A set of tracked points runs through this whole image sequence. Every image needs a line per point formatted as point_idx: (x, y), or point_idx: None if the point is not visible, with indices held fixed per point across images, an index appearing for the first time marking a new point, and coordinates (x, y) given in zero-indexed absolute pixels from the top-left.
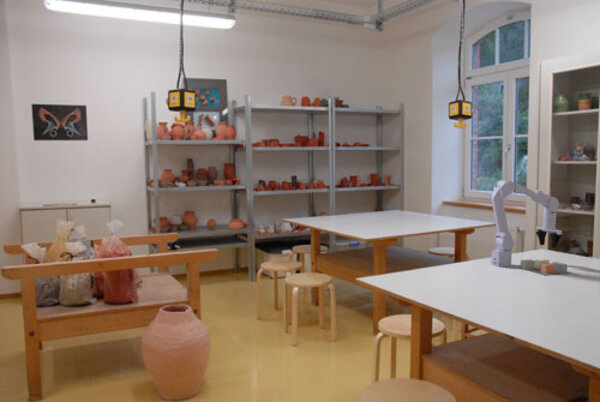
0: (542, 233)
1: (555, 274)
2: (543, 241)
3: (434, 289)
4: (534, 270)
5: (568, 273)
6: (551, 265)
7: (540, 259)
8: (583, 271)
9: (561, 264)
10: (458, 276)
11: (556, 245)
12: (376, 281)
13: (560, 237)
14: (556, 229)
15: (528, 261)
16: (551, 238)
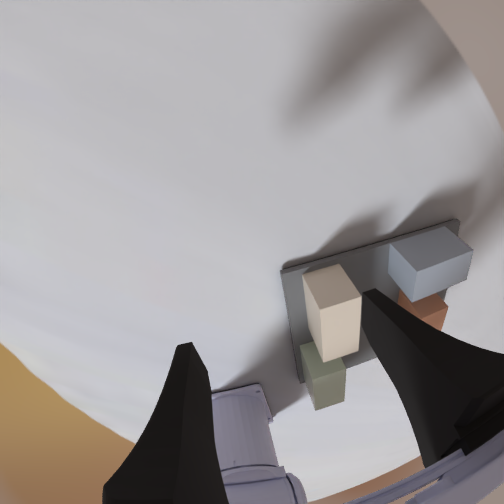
0: (213, 501)
1: (441, 292)
2: (195, 386)
3: (379, 466)
4: (360, 345)
5: (456, 229)
6: (441, 325)
7: (331, 338)
8: (427, 82)
9: (460, 280)
10: (325, 464)
11: (393, 303)
12: (313, 499)
13: (489, 352)
14: (476, 499)
15: (344, 390)
16: (413, 419)
